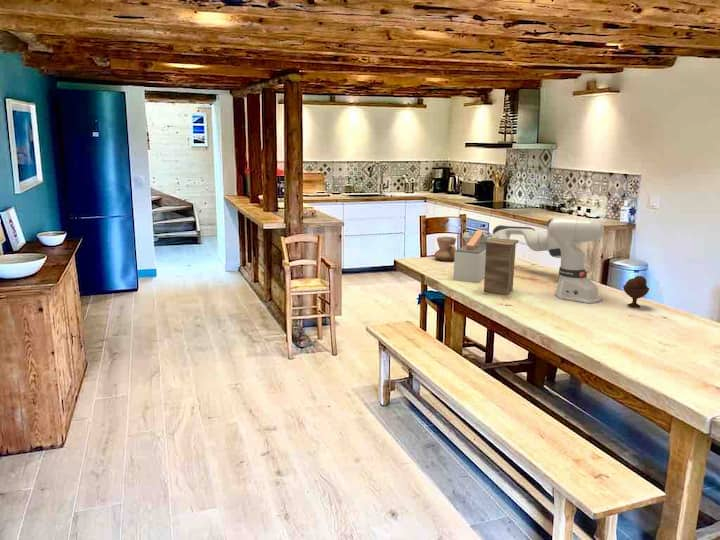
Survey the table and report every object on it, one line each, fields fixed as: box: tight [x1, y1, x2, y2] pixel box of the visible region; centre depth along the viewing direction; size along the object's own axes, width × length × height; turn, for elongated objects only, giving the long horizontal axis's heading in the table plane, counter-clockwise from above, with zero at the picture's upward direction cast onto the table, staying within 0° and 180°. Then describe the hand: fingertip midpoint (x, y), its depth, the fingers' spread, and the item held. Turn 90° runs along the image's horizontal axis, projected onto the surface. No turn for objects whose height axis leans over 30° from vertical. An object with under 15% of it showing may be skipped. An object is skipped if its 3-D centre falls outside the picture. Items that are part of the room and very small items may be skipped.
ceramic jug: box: [434, 236, 457, 262], centre depth 380 cm, size 18×14×14 cm
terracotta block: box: [465, 229, 486, 250], centre depth 338 cm, size 23×4×2 cm, turn 153°
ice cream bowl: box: [622, 275, 650, 309], centre depth 281 cm, size 11×11×15 cm
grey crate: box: [452, 244, 486, 283], centre depth 333 cm, size 18×14×16 cm
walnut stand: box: [483, 238, 519, 296], centre depth 305 cm, size 14×14×26 cm
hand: (478, 232), depth 341 cm, fingers closed on terracotta block, 4 cm apart
